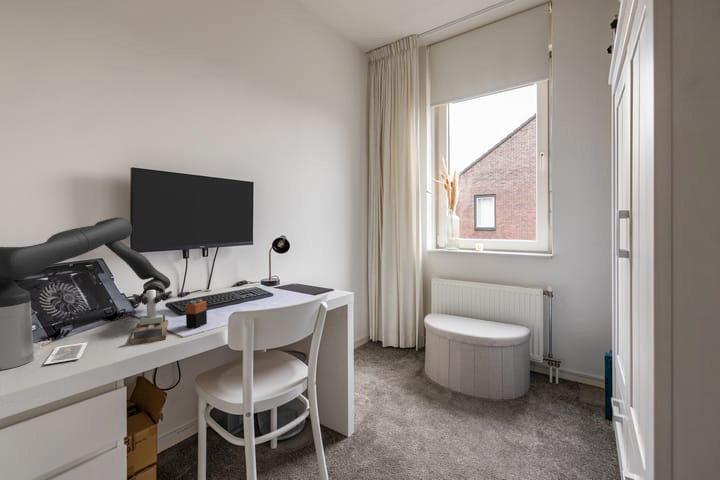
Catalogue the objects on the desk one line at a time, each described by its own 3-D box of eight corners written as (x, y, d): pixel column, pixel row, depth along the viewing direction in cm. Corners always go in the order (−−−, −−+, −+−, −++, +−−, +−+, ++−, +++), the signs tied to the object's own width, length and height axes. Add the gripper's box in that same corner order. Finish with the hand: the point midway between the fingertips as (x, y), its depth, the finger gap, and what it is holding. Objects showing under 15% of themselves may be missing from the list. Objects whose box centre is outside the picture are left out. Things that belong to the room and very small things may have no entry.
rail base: (130, 344, 111) (130, 332, 110) (137, 327, 128) (137, 316, 128) (165, 339, 115) (165, 328, 115) (168, 323, 133) (167, 313, 133)
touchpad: (88, 345, 111) (87, 339, 111) (80, 362, 98) (79, 354, 98) (56, 350, 107) (56, 343, 107) (44, 368, 94) (43, 360, 94)
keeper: (140, 325, 123) (139, 292, 123) (141, 322, 127) (140, 290, 126) (162, 322, 127) (161, 290, 126) (163, 319, 130) (162, 288, 130)
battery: (185, 328, 128) (184, 302, 127) (197, 322, 134) (197, 297, 134) (195, 328, 127) (195, 302, 126) (207, 323, 133) (206, 298, 133)
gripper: (133, 284, 136) (127, 293, 120) (173, 281, 142) (172, 289, 127) (134, 303, 136) (128, 313, 121) (173, 299, 142) (172, 309, 127)
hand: (150, 301), depth 124 cm, fingers closed on keeper, 3 cm apart
